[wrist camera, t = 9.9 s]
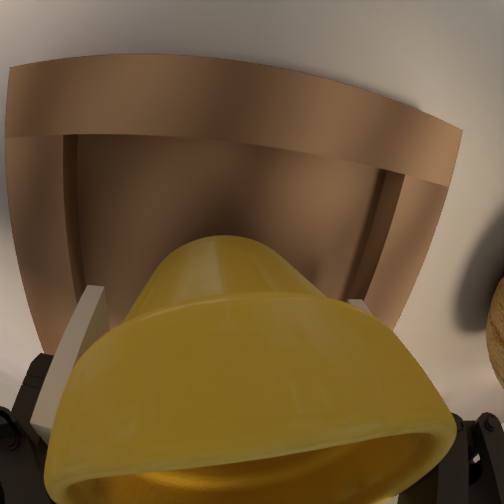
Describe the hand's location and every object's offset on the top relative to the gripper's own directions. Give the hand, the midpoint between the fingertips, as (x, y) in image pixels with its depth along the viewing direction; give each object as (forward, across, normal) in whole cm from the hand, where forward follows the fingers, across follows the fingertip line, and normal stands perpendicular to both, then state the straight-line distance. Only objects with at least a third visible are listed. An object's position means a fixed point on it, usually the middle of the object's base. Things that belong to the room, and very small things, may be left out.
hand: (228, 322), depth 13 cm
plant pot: (+1, 0, 0) cm, 1 cm away
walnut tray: (+4, 0, 0) cm, 4 cm away
